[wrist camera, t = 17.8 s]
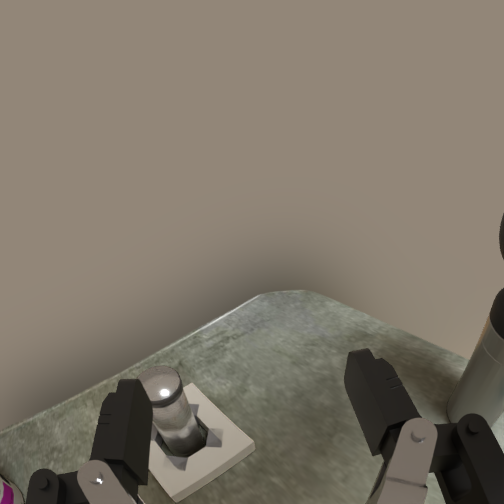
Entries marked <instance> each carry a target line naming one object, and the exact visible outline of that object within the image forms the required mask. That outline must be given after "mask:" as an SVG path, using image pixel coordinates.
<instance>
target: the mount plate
mask: <svg viewBox="0 0 504 504" xmlns="http://www.w3.org/2000/svg"><path fill="white" fill-rule="evenodd" d="M183 389H184V392H185V395H186V397H187V400H188V402H189V405H190V407H191V410H192V413H193V415H194V417H195V420H196V422H197V424H199V425H201V426H202V427H203V428H204V429H205V430H206V431H207V432H208V437H207V442H206V447H204V448H203V449H201V450H199V451H198V452H196V453H195V454H193V455H192V456H190V457H188V458H183V457H175V456H167V455H165V454H164V452H163V451H162V450H161V445H162V441H163V438H162V436H161V435H160V433H159V431H158V430H157V428H156V426H155V424H154V423H153V422H152V432H151V443H150V455H149V470H150V471H151V472H152V474H153V475H154V476H155V478H156V479H157V481H158V482H159V483H160V484H161V486H162V487H163V488H164V490H165V491H166V492H167V494H168V495H169V496H170V497H171V498H172V499H173V500H174V501H175V502H176V503H177V502H179V501H181V500H182V499H184V498H186V497H187V496H189V495H190V494H192V493H194V492H195V491H197V490H198V489H200V488H202V487H203V486H205V485H206V484H208V483H209V482H211V481H212V480H214V479H215V478H217V477H218V476H220V475H221V474H223V473H224V472H225V471H227V470H228V469H230V468H231V467H233V466H234V465H235V464H237V463H238V462H240V461H241V460H242V459H244V458H245V457H246V456H248V455H249V454H250V453H252V452H253V451H254V450H256V449H255V443H254V441H253V440H252V439H251V438H250V437H249V436H247V435H246V434H245V433H244V432H243V431H242V430H241V429H240V428H238V427H237V426H236V425H235V424H234V423H233V422H232V421H231V420H230V419H229V418H228V417H227V416H225V415H224V414H223V413H222V412H221V411H220V410H219V409H218V408H217V407H216V406H215V405H214V404H213V403H212V402H211V401H210V400H209V399H208V398H207V397H206V396H205V395H204V394H203V393H202V392H201V391H200V390H199V389H198V388H197V387H196V386H195V385H194V384H193V383H191V384H189V385H187V386H186V387H184V388H183Z"/></svg>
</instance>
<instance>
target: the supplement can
mask: <svg viewBox="0 0 504 504" xmlns="http://www.w3.org/2000/svg"><path fill="white" fill-rule="evenodd" d="M0 504H24V501H23V497H22V494H21V492H20V491H19V489H18V488H17V487H16V486H15V485H14V484H13V483H11V482H10V481H9V480H7V479H6V478H5V477H4V476H2V475H1V474H0Z"/></svg>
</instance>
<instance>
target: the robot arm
mask: <svg viewBox="0 0 504 504" xmlns="http://www.w3.org/2000/svg"><path fill="white" fill-rule="evenodd" d="M499 241H500V249H501V254H502V257H503V259H504V214H503V218H502V221H501V226H500V233H499ZM344 383H345V388H346V391H347V394H348V396H349V399H350V401H351V404H352V406H353V409H354V411H355V413H356V416H357V418H358V421H359V423H360V426H361V428H362V431H363V433H364V436H365V438H366V441H367V443H368V446H369V448H370V451H371V453H372V456H375V455H379V454H382V457H383V459H384V461H383V463H382V466H381V468H380V471H379V473H378V476H377V478H376V481H375V483H374V486H373V488H372V490H371V493H370V495H369V497H368V500H367V502H366V503H365V504H424V502H425V499H426V495H427V490H428V488H427V486H426V480H427V476H428V473H432V472H434V473H435V476H436V478H437V481H438V483H439V486H440V489H441V491H442V494H443V497H444V500H445V502H446V504H504V453H503V451H502V449H501V447H500V445H499V444H498V442H497V440H496V438H495V436H494V434H493V432H492V430H491V427H492V426H493V424H494V423H495V422H496V420H497V419H498V418H499V417H500V415H501V414H502V413H503V411H504V288H503V289H502V290H501V291H500V292H499V293H498V294H497V296H496V298H495V300H494V302H493V305H492V308H491V311H490V313H489V316H488V319H487V321H486V324H485V327H484V329H483V331H482V334H481V336H480V338H479V341H478V343H477V345H476V347H475V350H474V352H473V354H472V356H471V358H470V360H469V362H468V365H467V367H466V369H465V371H464V373H463V375H462V377H461V379H460V380H459V382H458V384H457V386H456V388H455V390H454V392H453V394H452V395H451V397H450V399H449V401H448V404H447V414H448V417H449V420H450V421H451V423H449V424H433V423H432V422H431V421H429V420H427V419H424V418H422V417H421V416H420V415H419V413H418V411H417V409H416V407H415V406H414V404H413V402H412V400H411V398H410V397H409V395H408V393H407V391H406V389H405V388H404V386H402V382H401V381H400V379H399V378H398V375H397V374H396V372H395V370H394V368H393V367H392V365H390V364H389V363H388V362H387V361H385V360H384V359H383V358H380V359H376V360H375V358H374V356H373V354H372V353H371V351H370V350H369V349H368V348H365V349H361V350H357V351H352V352H349V354H348V359H347V365H346V370H345V376H344ZM152 422H153V407H152V403H151V401H150V399H149V397H148V395H147V393H146V391H145V389H144V387H143V385H142V383H141V381H140V379H120V380H119V382H118V386H117V391H116V393H109V394H108V396H107V397H106V398H105V400H104V401H103V403H102V407H101V411H100V416H99V419H98V425H97V428H96V433H95V438H94V442H93V447H92V452H91V457H90V459H89V461H88V462H86V463H84V464H83V465H82V466H81V467H80V469H79V470H78V471H75V472H70V473H65V474H59V475H56V474H55V473H54V472H53V471H51V470H49V469H39V470H37V471H36V472H34V473H33V474H32V476H31V478H30V481H29V487H28V492H27V499H26V504H145V502H144V501H143V500H142V499H141V497H140V496H139V495H138V485H147V483H148V468H149V455H150V443H151V432H152Z"/></svg>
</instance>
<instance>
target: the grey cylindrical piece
mask: <svg viewBox="0 0 504 504" xmlns="http://www.w3.org/2000/svg"><path fill="white" fill-rule="evenodd" d="M137 379H140V381H141V383H142V385H143V387H144V389H145V391H146V393H147V395H148V397H149V399H150V401H151V403H152V407H153V423H154V424H155V426H156V428H157V430H158V431H159V433H160V435H161V436H162V438H163V440H164V441H165V443H166V445H167V446H168V448H169V449H170V451H171V452H172V454H173V455H175V456H176V457H183V458H188V457H190V456H192V455H193V454H195V453H196V452H198V451H199V450H201V449H203V448H204V439H203V437H202V434H201V432H200V430H199V427H198V425H197V422H196V420H195V417H194V415H193V413H192V410H191V407H190V405H189V402H188V400H187V397H186V395H185V392H184V389H183V384H182V381H181V379H180V376H179V374H178V372H177V371H176V370H174V369H173V368H171V367H167V366H155V367H151V368H149V369H146V370H145V371H143V372H142V373H141V374H140V375H139V376H138V377H137Z"/></svg>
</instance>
